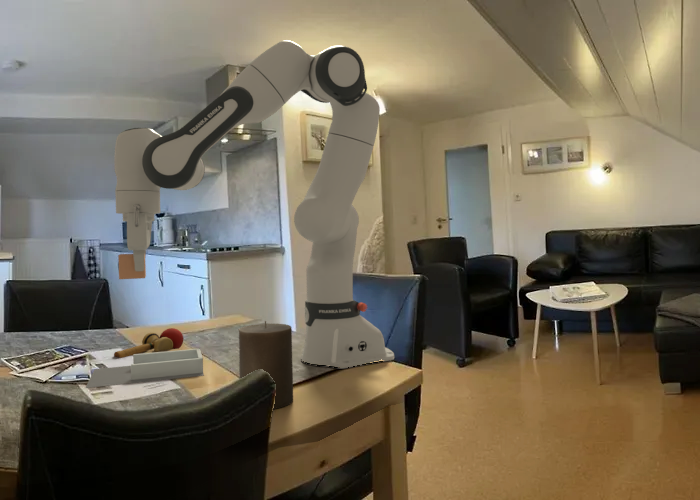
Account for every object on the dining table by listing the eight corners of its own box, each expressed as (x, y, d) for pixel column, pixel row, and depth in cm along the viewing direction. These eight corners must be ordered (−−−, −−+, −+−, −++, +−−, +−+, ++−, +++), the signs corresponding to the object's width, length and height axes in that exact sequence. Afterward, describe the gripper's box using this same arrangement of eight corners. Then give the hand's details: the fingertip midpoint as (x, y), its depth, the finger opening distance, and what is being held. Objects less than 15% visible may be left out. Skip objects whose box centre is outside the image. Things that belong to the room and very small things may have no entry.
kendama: (130, 372, 120) (192, 346, 135) (123, 346, 120) (186, 322, 135) (113, 372, 125) (175, 347, 139) (106, 347, 125) (169, 325, 139)
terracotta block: (145, 276, 114) (145, 253, 114) (144, 278, 109) (144, 254, 109) (121, 277, 112) (120, 254, 112) (119, 279, 107) (118, 255, 107)
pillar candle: (296, 407, 92) (295, 323, 91) (240, 412, 89) (239, 326, 89) (289, 391, 101) (288, 315, 100) (238, 395, 99) (237, 317, 98)
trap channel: (199, 365, 120) (199, 346, 120) (204, 382, 107) (203, 361, 107) (94, 375, 113) (94, 355, 112) (85, 395, 99) (84, 372, 99)
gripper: (153, 203, 102) (155, 273, 102) (154, 207, 121) (156, 266, 122) (118, 203, 100) (120, 274, 100) (125, 207, 119) (127, 267, 119)
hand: (140, 269), depth 111 cm, fingers closed on terracotta block, 5 cm apart
